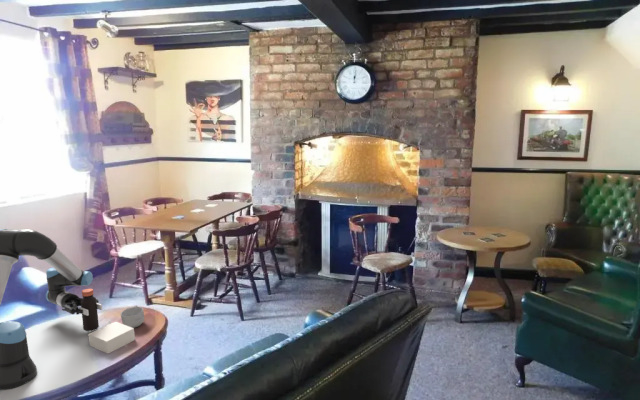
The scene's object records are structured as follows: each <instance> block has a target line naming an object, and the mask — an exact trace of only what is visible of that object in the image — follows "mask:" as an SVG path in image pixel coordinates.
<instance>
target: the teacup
mask: <svg viewBox="0 0 640 400" xmlns="http://www.w3.org/2000/svg"><path fill="white" fill-rule="evenodd" d="M120 318H121V321H122V323H121V324H124V325H126V326H129V327H132V328H134V329H135V328H138V327H140V326H141V325H142V324H143V323H144V321H145V311H144V308H143V307H142V306H138V305H134V306H132V307H128V308H126V309H124V310H122V311H121V312H120Z"/></svg>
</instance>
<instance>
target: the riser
mask: <svg viewBox="0 0 640 400" xmlns="http://www.w3.org/2000/svg"><path fill="white" fill-rule="evenodd" d="M133 341H136V336H135V328H132V327H129V326H126V325H124V324H123V323H121V322H118V321H114V322H112V323H109V324H107V325H104V326H103V327H100V328H99V329H98V328H97V329H96V330H93V331H91V332H90V333H88V343H89V347H92V348H94V349H96V350H99V351H101V352H103V353H105V354H110V353H112V352H114V351H116V350H118V349H120V348H123V347H124V346H127V345H128V344H130V343H132V342H133Z"/></svg>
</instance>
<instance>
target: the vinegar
mask: <svg viewBox="0 0 640 400" xmlns="http://www.w3.org/2000/svg"><path fill="white" fill-rule="evenodd" d="M81 296H82V298H83V299H82V300H81V306H80V307H82V308H84V309H87V310H88V312H89V315H88V316H87V315H84V314H81V317H82V326H83V327H82V328H83V331H85V332H94V331H96V330H98V328H99V327H100V324H99V323H100V322H99V316H98V314H99V313H98V309H97V302H96V299H97V298H96V297H95V296H94V289H93V288H85V289H82V290H81Z"/></svg>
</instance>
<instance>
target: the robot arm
mask: <svg viewBox="0 0 640 400" xmlns="http://www.w3.org/2000/svg"><path fill="white" fill-rule="evenodd" d="M20 256H28V257H29V256H31V257H35V258H37V260H41V261H44V262H45V263H46V264H47V265H49V266H50V268H48V269H47V270H46V274H45V275H46V282H47V283H46V284H47V289H48V290H47V291H46V293H45V299H46V300H47V302H49V303H51V304H52V305H53V304H54V305H57V306H60V307H61V311H63V312H67V313H69V314H71V315H75V314H76V315H82V314H84V315H87V316H88V315H89V312H88V310H87V309H84V308H82V307H81V300H82V299H83V297H79V296H78V295H77V294H74V293H73V292H70V291H66V287H88V286H90V285H91V284H92V282H93V279H94V277H93V276H94V275H93V273H92V272H91V271H90V270H89V271H88V270H82V269H81V268H80V267H79V266H78V265H77V264H76V263H74V261H73V260H71V259H70V258H69V257H68V256H67V255H66V254H64V253H63V252H62V251H61V250H60V249H59V248H58V245H57V243H56V242H55V241H54V240H52V239H51V238H50V237H48V236H47V235H45V234H44V233H41V232H39V231H37V230H33V229H28V228H27V229H26V228H24V229H23V228H22V229H14V228H13V229H7V228H5V229H4V228H2V229H0V305H2V300H3V297H4V294H5V292H6V291H5V290H6V287H7V284H8V281H9V277H10V274H11V271H12V268H13V265H14V264H16V263H18V262H19V258H20ZM96 302H97V310H99V311H103V305H102V304H101V303H100V302H99V299H98V298H96ZM37 368H38V367H37V366H36V364H35V362H34V361H33V359H32V358H31V356H30V350H29V345H28V338H27V331H26V329H25V326H24V324H23V323H22V322H19V321H16V320H15V321H13V320H9V321H8V320H7V321H5V322H3V321H2V322H0V390H8V389H9V390H10V389H13V388H17V387H20V386H22V385H24V384H27V383H28V382H30V381H31V380H33V379H34V378H36V376H37V374H38V369H37Z"/></svg>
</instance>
